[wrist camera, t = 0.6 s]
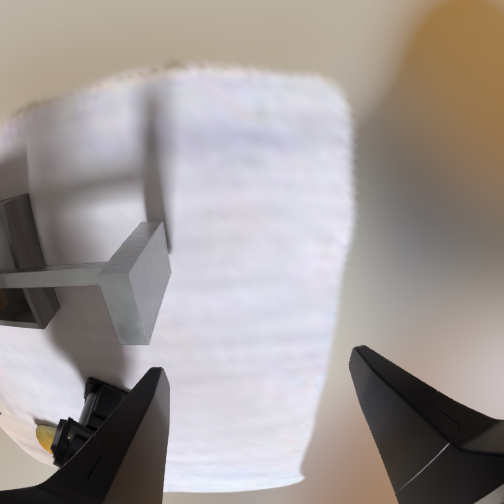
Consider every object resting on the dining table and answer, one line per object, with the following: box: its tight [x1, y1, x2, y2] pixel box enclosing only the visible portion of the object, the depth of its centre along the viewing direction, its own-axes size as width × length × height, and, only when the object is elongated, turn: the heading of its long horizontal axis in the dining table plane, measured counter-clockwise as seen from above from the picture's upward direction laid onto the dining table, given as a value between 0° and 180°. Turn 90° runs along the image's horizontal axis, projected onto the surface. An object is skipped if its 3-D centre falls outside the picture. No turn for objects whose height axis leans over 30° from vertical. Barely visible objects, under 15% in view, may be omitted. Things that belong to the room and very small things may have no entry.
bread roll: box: [36, 425, 70, 454], centre depth 30 cm, size 8×9×4 cm
